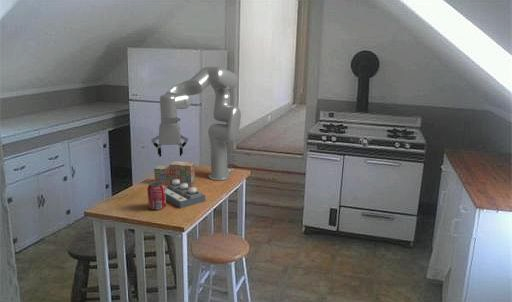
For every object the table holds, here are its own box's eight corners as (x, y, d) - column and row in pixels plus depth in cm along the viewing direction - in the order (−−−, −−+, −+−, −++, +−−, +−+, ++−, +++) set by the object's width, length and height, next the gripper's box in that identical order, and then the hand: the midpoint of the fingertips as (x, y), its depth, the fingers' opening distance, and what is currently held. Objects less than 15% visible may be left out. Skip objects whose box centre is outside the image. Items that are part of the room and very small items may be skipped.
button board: (181, 188, 212) (180, 180, 211) (205, 201, 195) (205, 192, 194) (157, 194, 203) (156, 186, 202) (180, 208, 186) (180, 199, 185)
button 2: (193, 190, 196) (193, 186, 195) (198, 192, 193) (198, 188, 192) (186, 192, 193) (186, 188, 193) (191, 194, 190) (191, 190, 190)
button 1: (177, 182, 207) (177, 178, 207) (181, 184, 205) (181, 180, 204) (170, 183, 205) (170, 180, 204) (174, 185, 202) (174, 182, 201)
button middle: (185, 186, 202) (185, 182, 201) (189, 188, 199) (189, 184, 198) (178, 187, 199) (178, 184, 199) (182, 190, 196) (182, 186, 196)
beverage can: (159, 202, 192) (157, 179, 189) (169, 207, 188) (168, 183, 184) (145, 207, 186) (143, 183, 183) (155, 212, 182) (154, 187, 179)
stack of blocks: (154, 184, 219) (153, 163, 216) (159, 180, 225) (158, 160, 222) (191, 187, 215) (190, 165, 212) (195, 183, 221) (194, 162, 218)
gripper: (187, 119, 192) (188, 153, 196) (151, 119, 190) (153, 154, 194) (187, 122, 185) (188, 157, 189) (149, 122, 182) (151, 158, 187)
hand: (170, 155), depth 192 cm, fingers open, 9 cm apart
